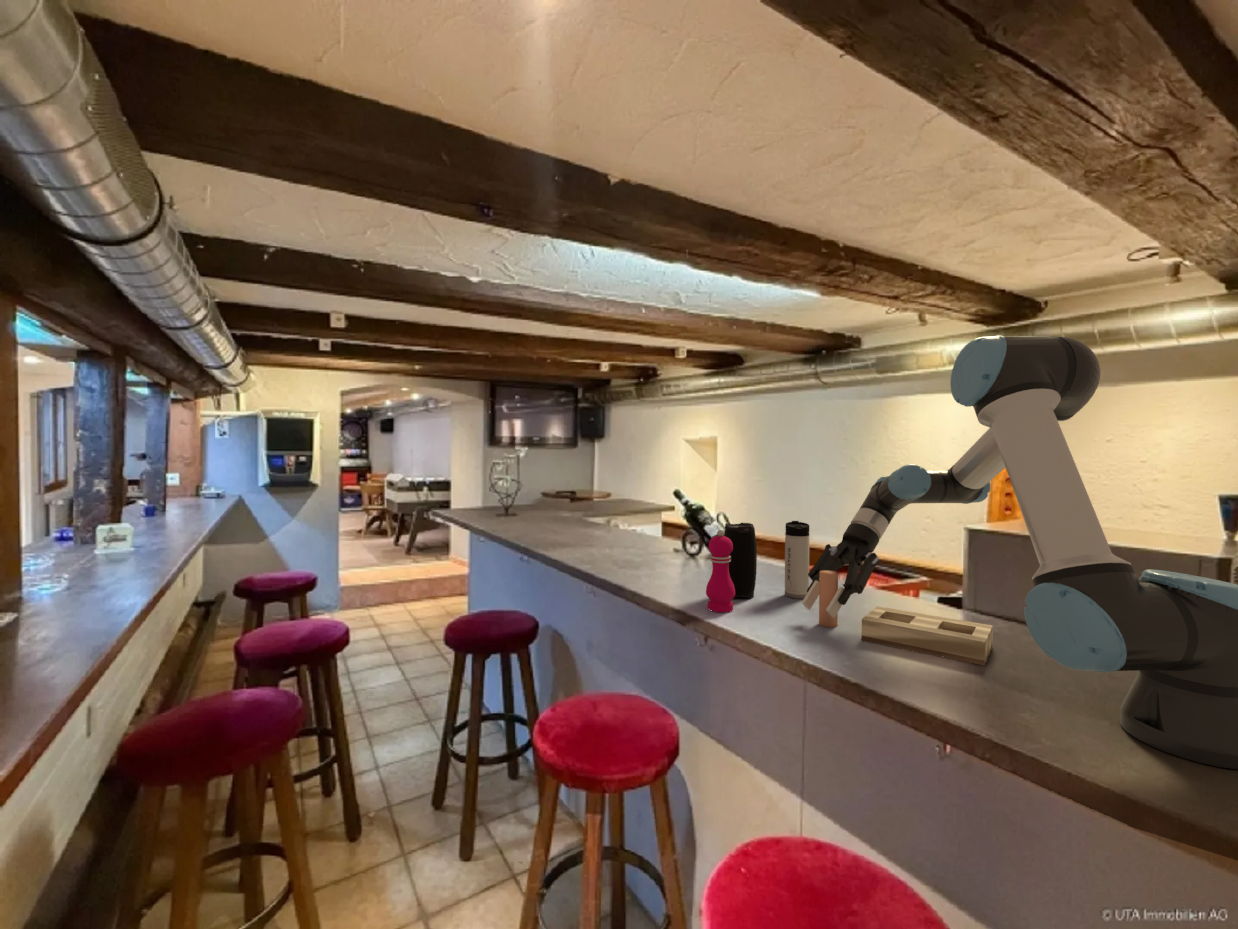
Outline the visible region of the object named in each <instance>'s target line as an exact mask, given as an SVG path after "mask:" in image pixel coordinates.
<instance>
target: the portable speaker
mask: <svg viewBox="0 0 1238 929" xmlns="http://www.w3.org/2000/svg"><path fill="white" fill-rule="evenodd" d="M755 528H756V527H755V526H754V524H753V523H751V522H740V523H730V522H728V523H727V522H726V523H725V525H724V536H725V537H728V538H729V539H730V540H731V541H732V544H733V550H732V552H731V553H730V556H731V558H730V560H731V562H729V575H730V578H731V580H732V582H733V584H734V588H735V596H734V598H733V599H732V600H736V599H737V597H746V599H748V600H749V599H750V600H751V599H753V598H754V597H755V589H756V582H757V581H756V580H757V567H758V566H757V565H758V564H757V562H758V561H757V560H758V557H757V556H758V548H757V536H756V531H755V530H756V529H755Z"/></svg>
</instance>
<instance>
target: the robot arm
mask: <svg viewBox="0 0 1238 929" xmlns="http://www.w3.org/2000/svg"><path fill="white" fill-rule="evenodd" d="M1100 380H1101V366H1100V362H1099V359H1098V358H1097V356H1096V353H1095V352H1094V351H1093V350H1092V349H1091V348H1090V347H1089V346H1088V345H1087V344H1086V343H1084V342H1082V341H1080V340H1078V339H1075V338H1073V337H1069V336H1061V335H1060V336H1059V335H1052V336H1051V335H1050V336H1003V335H1000V334H997V335H994V336H981V337H977V338H974V339H972V340H970V341H969V342H968V343H966V345H964V347H963V348H962V349H961V350H960V352H959V353H958V355H957V356H956V358H955V360H954V363H953V367H952V369H951V374H950V381H949V382H950V385H949V386H950V391H951V396H952V397H953V399H954V401H955V402H956V403H957V404H959V405H961V406H963V407H967V408H968V407H973V410H974V412H975V415H976V418H977V420H978V421H977V422H979V424H981V425H982V426H984V427H987V428H988V429H987V430H986V431H985V432H984V433H983V434H982V435H981V436H980V438H978V439H977V440H976V441H975V443H973V445H972V446H971V447H969V449H968V450H967V451H966V452H965V453H964V454H963V455H962V456H961V457H960V458H959V459H958V460H957V461H956V462H955V463H954V464H953V465H952V466H951V467H950V468H949V469H947V470H944V469H943V470H940V469H939V470H927V469H925V467H924V466H923V467H922V466H919V465H918V464H915V463H908V464H905V465H902V466H901V467H899V468H898V469H895V470H894V471H893V472H891V473H890V475H889V476H888V475H887V476H881V477H879V478H878V479H877V480H876V481H875V483H874V484H873V485H872V486H871V488H870V491H869V492H868V494H867V496H866V497H865V499H864V500H863V502H862V505H861V506H860V507H859V509H858V510H857V512H856V514H855V515H854V517H853V518H852V520H851V521H850V524H849V525H848V526H847V528H846V529H845V531H844V532H843V534H842V540H841V541H840V542H839V543H838V544H837V545H834V546H832V545H831V544H829V543H828V544H826V545H825V547H824V549H823V552H822V554H821V555H820V556H819V558H818V560H817V561H816V563H815V564H814V565H813V567H811V569H810V570H809V573H808V576H809V579H810V580H811V582H810V583H809V588H808V589H807V592H808V593H807V595H806V596H805V598H804V599H802V601H801V604H802V605H803V606H804V608H805V610H808V611H811V609H812V608H813V606H814V605H815V603H816V601H817V599H819V578H820V571H835V572H837V571H838V570H839V569H840V568H843V567H844V566H845V565H848V567H847V571H846V576H845V581H844V583H843V584H842V586H838V591H837V592H836V594H835V596H834V597H833V599H832V601H831V602H830V604H829V606H828V607H827V609H826V611H827V612H828V613H829V615H830V616H831V617H833V618H835V616H836V614H837V613H838V614H839V611H840V609H841V607H842V606H845V605H846V604H847V602H848V600H849V599H850V597H851V596H852V595H853V594H858V595H860V594H862V593H863V591H864V590H865V587H866V585H867V583H868V582H869V579H870V578H871V575H872V573H873V571H874V569H876V567H877V566H878V565H879V564H880V562H881V560H880V558H879V556H878V555H877V554H876V552H874V551H875V549H876V548H877V546H878V544H879V542H880V540H881V539H882V537H883V536H884V534H885V532H886V530H887V528H888V527H889V525H890V524H891V522H892V520H893V519H894V517H895V516H896V514H898V512H899V511H901V510H902V509H904V508H905V507H907V506H908V505H910V504H963V505H964V504H965V505H967V504H971V503H982V502H983V501H985V500H986V499H988V496H989V492H990V491H991V481H992V480H994V478H995V477H996V476H998V475H999V474H1001V472H1002V471H1004V470H1006V472H1007V475H1008V478H1009V481H1010V483H1011V484H1010V485H1011V486H1012V489H1013V492H1014V495H1015V499H1016V500H1017V503H1018V506H1019V508H1020V511H1021V515H1022V518H1023V521H1024V523H1025V526H1026V529H1027V531H1028V535H1029V538H1030V540H1031V543H1032V546H1033V548H1034V552H1035V555H1036V558H1037V560H1038V564H1039V567H1038V569H1037V570H1036V572H1035V573H1034V574H1033V576H1032V577H1031V579H1032V583H1033V586H1034V587H1032V589H1030V590H1029V592H1028V593H1027V595H1026V597H1025V600H1024V603H1025V604H1026V606H1024V608H1023V613H1024V619H1025V624H1026V626H1027V629H1028V631H1029V633H1030V635H1031V637H1032V639H1033V640H1034V642H1035V643H1036V644H1037V646H1038V647H1039V648H1040V649H1041V650H1042V651H1043V653H1044V654H1046V656H1048V657H1049V658H1051V659H1053V661H1055V662H1056V663H1057V664H1058V665H1061V666H1063V667H1066V668H1067V669H1072V670H1076V671H1083V672H1084V671H1086V672H1089V671H1091V672H1095V673H1100V674H1101V673H1102V674H1104V673H1105V674H1106V673H1113V672H1125V671H1126V672H1127V671H1128V672H1129V671H1136V672H1137V674H1136V676H1135V678H1134V680H1133V682H1132V684H1131V686H1130V688H1129V690H1128V692H1127V693H1126V696H1125V697H1124V699H1123V701H1122V703H1121V705H1120V710H1119V711H1120V712H1119V724H1120V726H1121V727H1122V729H1123V730H1124V731H1125V732H1126V733H1128V734H1129V735H1131V736H1132V737H1134V738H1135V739H1137V740H1139V741H1141V742H1142V743H1145V744H1147V745H1149V746H1151V747H1152V748H1155V749H1157V750H1160V751H1163V752H1165V753H1167V754H1170V755H1174V756H1176V757H1178V758H1181V759H1186V760H1189V761H1193V762H1197V763H1200V764H1205V765H1209V766H1212V767H1213V766H1214V767H1219V768H1225V769H1232V770H1238V584H1236V583H1232V582H1227V581H1223V580H1218V579H1214V578H1208V577H1204V576H1197V575H1192V574H1188V573H1187V574H1186V573H1182V572H1175V571H1168V570H1161V569H1150V568H1149V569H1145V570H1143V571H1142V572H1141V576H1139V578H1138V577H1137V574H1136V572H1135V569H1134V568H1133V567H1134V566H1133V565H1132V563H1131V562H1130V561H1127V560H1125V559H1123V558H1121V557H1119V556H1116V555H1115V554H1114V553H1113V552H1112V550H1111V547H1110V545H1109V543H1108V540H1107V538H1106V535H1105V533H1104V530H1103V528H1102V526H1101V523H1100V520H1099V518H1098V516H1097V514H1096V511H1095V508H1094V506H1093V503H1092V502H1091V501H1092V500H1091V499H1090V496H1089V494H1088V491H1087V489H1086V487H1085V484H1084V481H1083V479H1082V477H1081V474H1080V472H1079V469H1078V467H1077V463H1076V462H1075V459H1074V457H1073V455H1072V452H1071V450H1070V447H1069V445H1068V443H1067V440H1066V438H1065V435H1064V433H1063V431H1062V428H1061V424H1060V423H1059V422H1065V421H1068V420H1071V418H1073V417H1074V416H1075V415H1076V414H1078V412H1080V411H1081V410H1082V409H1083V408H1084V407H1085V406H1086V405H1087V404H1088V403H1089V401H1091V399H1092V397H1094V395H1095V393H1096V391H1097V390H1098V387H1099V384H1100Z"/></svg>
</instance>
